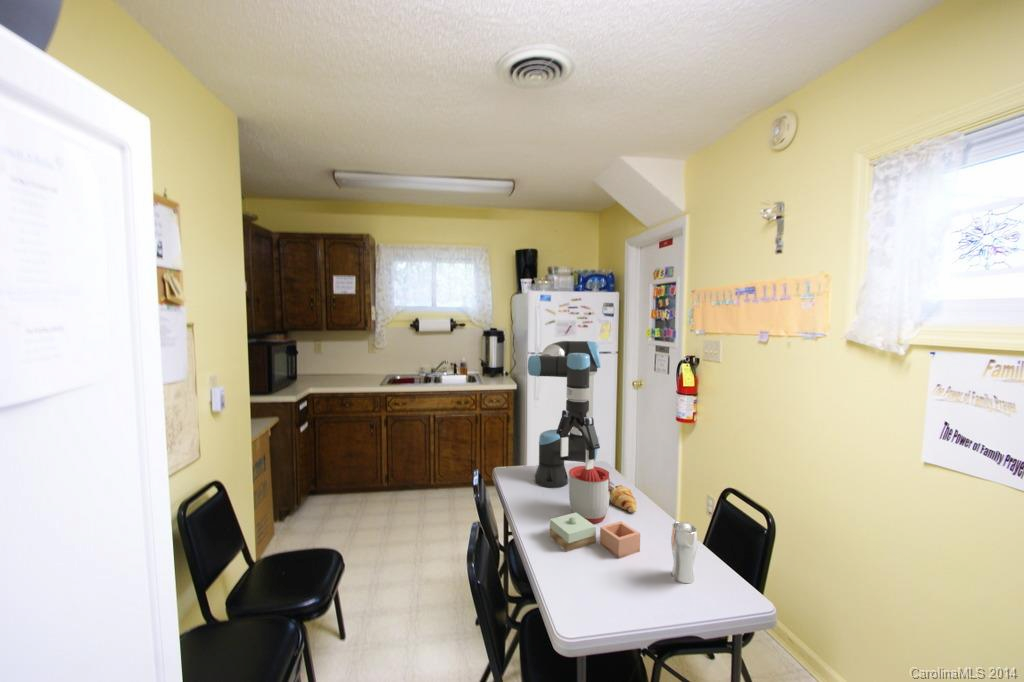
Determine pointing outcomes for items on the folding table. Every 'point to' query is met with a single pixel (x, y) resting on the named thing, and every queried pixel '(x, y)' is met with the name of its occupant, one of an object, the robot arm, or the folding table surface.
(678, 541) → the beer glass
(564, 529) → the lid
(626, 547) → the open box
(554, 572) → the folding table surface
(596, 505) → the citrus juicer
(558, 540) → the wooden block
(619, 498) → the croissant
